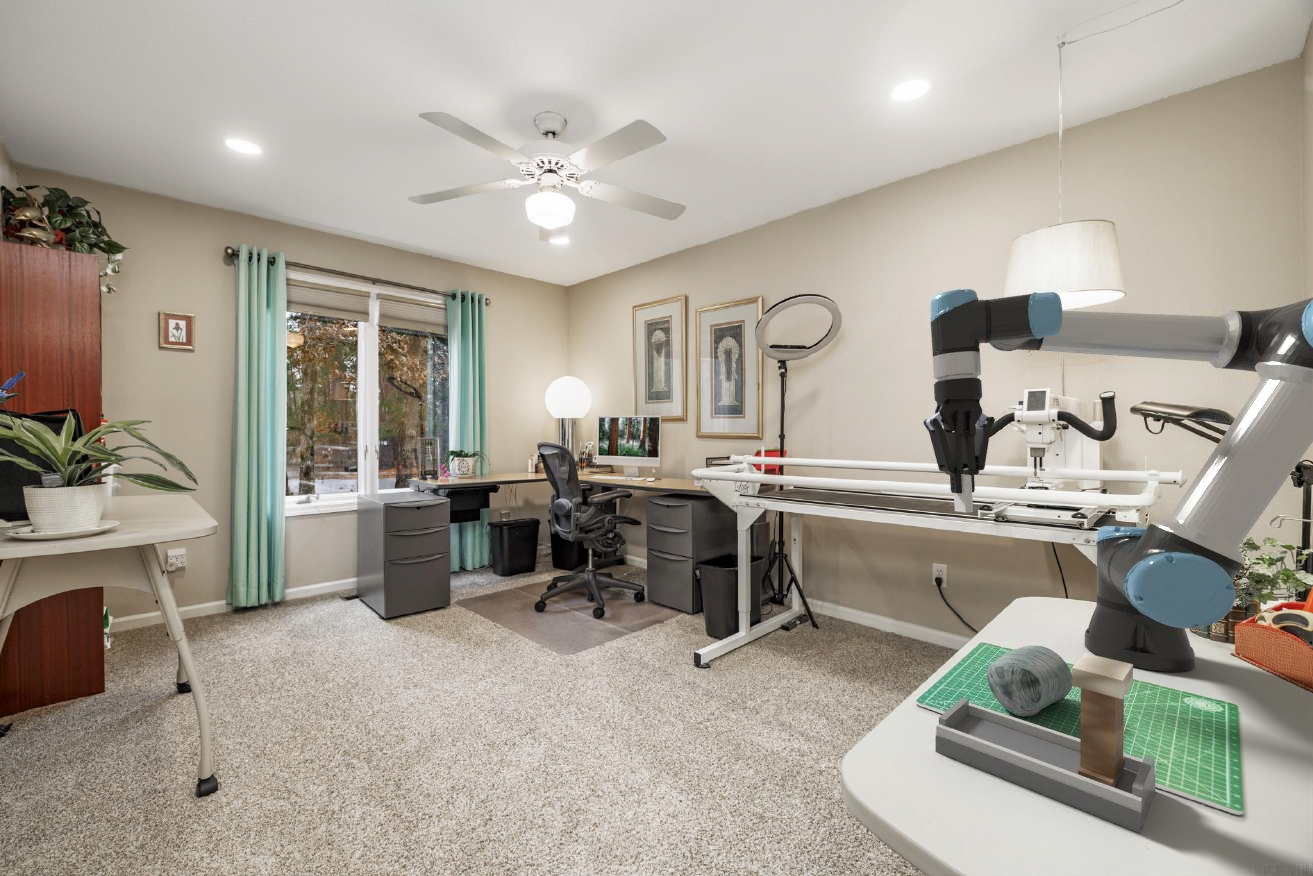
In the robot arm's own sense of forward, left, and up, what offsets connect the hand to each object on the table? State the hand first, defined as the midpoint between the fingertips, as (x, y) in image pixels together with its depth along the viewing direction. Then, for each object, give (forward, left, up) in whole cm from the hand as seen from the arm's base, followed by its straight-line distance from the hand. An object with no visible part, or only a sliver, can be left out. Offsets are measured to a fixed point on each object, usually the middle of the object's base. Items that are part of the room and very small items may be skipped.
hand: (963, 511), depth 101 cm
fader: (+10, +37, -24) cm, 45 cm away
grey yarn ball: (+2, +17, -26) cm, 32 cm away
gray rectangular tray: (+14, +32, -26) cm, 43 cm away
